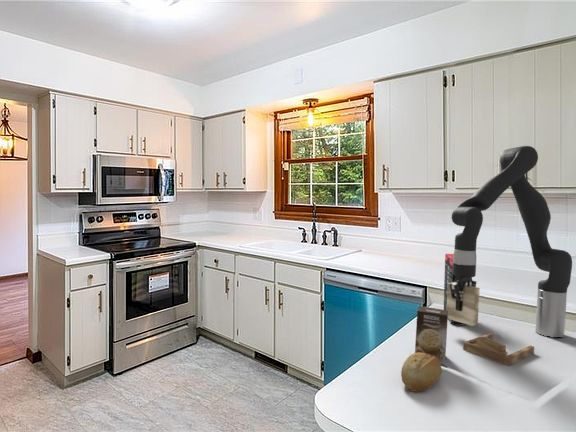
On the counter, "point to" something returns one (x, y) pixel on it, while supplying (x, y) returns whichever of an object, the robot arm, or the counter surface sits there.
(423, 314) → the coffee box
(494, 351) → the slat middle
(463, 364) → the counter surface
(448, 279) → the graphics card box
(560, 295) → the robot arm
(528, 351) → the rack
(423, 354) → the bread roll
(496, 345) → the slat top
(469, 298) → the tall beige block
